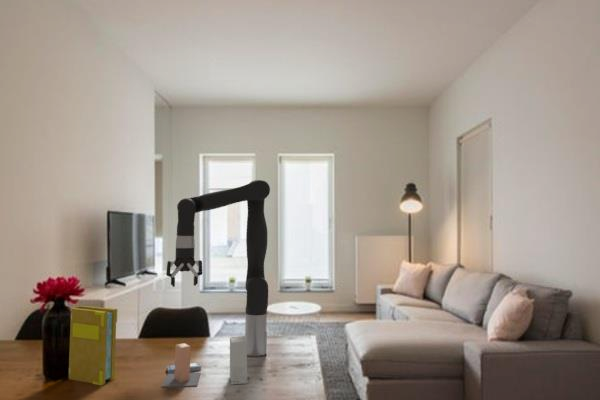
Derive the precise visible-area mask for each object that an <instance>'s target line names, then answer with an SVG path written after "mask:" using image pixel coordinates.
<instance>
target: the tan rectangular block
mask: <svg viewBox="0 0 600 400" xmlns="http://www.w3.org/2000/svg"><path fill="white" fill-rule="evenodd" d="M174 345H175V346H174V347H175V349H174V351H175V353H174V365H175V373H174V374H175V379H176V380H178V381H179V382H184V381H188V380H190V373H191V371H190V363H191V345H189V344H187V343H185V342H184V343H177V344H174Z"/></svg>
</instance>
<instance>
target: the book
mask: <svg viewBox="0 0 600 400" xmlns="http://www.w3.org/2000/svg"><path fill="white" fill-rule="evenodd" d="M118 310H119V309H118V308H112V307H108V308H107V307H98V306H91V305H90V306H89V305H88V306H87V305H77V306H72V307H71V308H70V325H69V327H70V330H69V351H68V352H69V354H68V355H69V356H68V379H69V380H72V381H76V382H83V383H87V384H88V383H89V384H92V385H95V386H96V385H97V386H104V385H106V381H113V380H115V379H116V367H117V366H116V338H117V337H116V336H117V323H118Z"/></svg>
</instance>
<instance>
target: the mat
mask: <svg viewBox="0 0 600 400" xmlns="http://www.w3.org/2000/svg"><path fill="white" fill-rule="evenodd" d="M201 374H202V373H201V372H190V380H188V381H184V382H179V381H178V380H176V379H175V373H173V374H168V373H167V374H166V377H165V378H164V380H163V382H162V385H161V388H162V389H163V388H183V387H184V388H186V387H192V388H193V387H198V385H199V381H200V378H201Z"/></svg>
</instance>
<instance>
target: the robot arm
mask: <svg viewBox="0 0 600 400" xmlns="http://www.w3.org/2000/svg"><path fill="white" fill-rule="evenodd" d="M270 192H271V187H270V184H269V183H268V182H267V181H265V180H263V179H255V180H251V182H249V183H247V184H244V185H242V186H238V187H235V188H229V189H223V190H218V191H213V192H209V193H204V194H202V195H199V196H198V195H197V196H193V197H188V198H187V197H186V198H183V199H181V200H180V201H179V202H178V203H177V207H176V210H177V225H176V239H175V259H174V261H171V260H167V261H166V274H165V275H166V276H167V277H170V285H171V286H172V287H173V288H175V286H176V285H175V284H176V277H175V276H176V275H177V274H178V273H179V272H181V273H182V272H191V273H192V274H193V275H194V276H193V286H197V285H198V283H199V279H198V277H200V276H202V275H203V261H202V260H201V259H198V260H195V217H196V213H200V212H205V211H211V210H215V209H220V208H223V207H227V206H230V205H232V204H237V203H242V202H246V201H247V218H246V219H247V220H246V233H245V234H246V235H245V236H246V237H245V238H246V239H245V240H246V243H245V244H246V245H245V246H246V257H247V259H246V260H247V266H246V267H247V269H246V280H245V286H244V287H245V291H246V306H245V322H244V323H245V327H244V330H245V331H244V332H245V333H244V336H245V337H246V340H247V357H248V356H249V357H262V356H266V355H267V352H268V351H267V348H268V347H267V345H268V341H267V340H268V331H267V325H268V324H267V323H268V321H267V320H268V307H269V284H268V282H267V280H266V278H265V259H266V255H267V249H268V226H267V221H266V218H265V199H266V198H268V196H270ZM173 265H174V266H175V269H174V270H173V272H172V273H171V268H172V267H173ZM195 265H196V266H197V267H198V270H197V271H196V270H195V269H194V266H195ZM265 354H266V355H265ZM261 355H262V356H261Z"/></svg>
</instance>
